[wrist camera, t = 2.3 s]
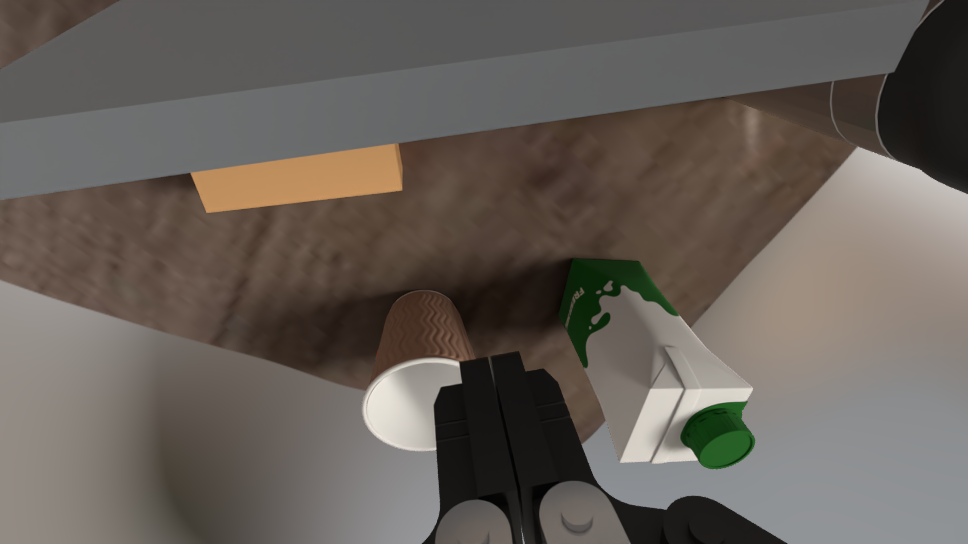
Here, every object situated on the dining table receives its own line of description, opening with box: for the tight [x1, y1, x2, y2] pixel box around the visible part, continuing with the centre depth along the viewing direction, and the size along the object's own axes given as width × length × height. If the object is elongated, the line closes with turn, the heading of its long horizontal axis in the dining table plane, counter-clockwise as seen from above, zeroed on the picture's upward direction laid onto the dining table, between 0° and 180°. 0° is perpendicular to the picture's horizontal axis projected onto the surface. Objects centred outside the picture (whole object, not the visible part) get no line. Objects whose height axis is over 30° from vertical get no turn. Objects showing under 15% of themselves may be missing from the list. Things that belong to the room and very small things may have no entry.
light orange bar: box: [191, 143, 402, 213], centre depth 35 cm, size 14×4×5 cm, turn 94°
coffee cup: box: [361, 290, 476, 451], centre depth 42 cm, size 10×10×12 cm
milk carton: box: [558, 258, 755, 469], centre depth 40 cm, size 9×9×20 cm
